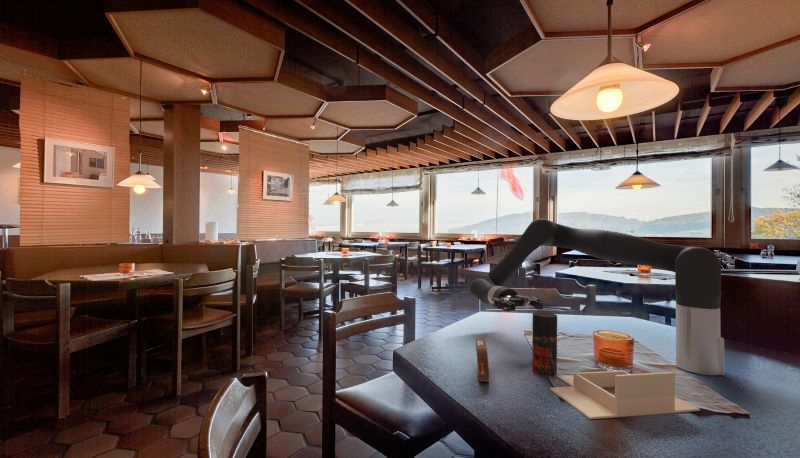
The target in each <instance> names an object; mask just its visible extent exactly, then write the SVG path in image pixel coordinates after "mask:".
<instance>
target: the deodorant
mask: <svg viewBox="0 0 800 458" xmlns="http://www.w3.org/2000/svg"><path fill="white" fill-rule="evenodd" d="M531 346H532V347H531V348H532V349H531V350H532V353H531V354H532V356H531V358H532V361H531V362H532V363H531V364H532V365H531V366H532V367H531V371H532V373H534V374H535V375H538V376H540V377H545V378H551V377H552V378H554V377H556V376H557V374H558V314H555V313H551V312H543V311H538V312H537V311H536V312H535V311H534V312H533V313H532V345H531Z"/></svg>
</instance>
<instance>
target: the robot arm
mask: <svg viewBox="0 0 800 458" xmlns="http://www.w3.org/2000/svg"><path fill="white" fill-rule="evenodd" d="M541 246H543V247H553V248H554V247H556V248H562V249H563V248H564V249H569V250H573V251H576V252H578V253H582V254H584V255H588V256H590V257H593V258H597V259H600V260H605V261H610V262H613V263H614V262H615V263H619V264H626V265H633V266H634V265H635V266H643V267H645V266H646V267H653V268H658V269H662V270H666V271H669V272H671V273H674V275H675V277H674V279H675V280H674V281H675V283H674V285H675V289H674V291H675V293H674V294H675V366H677V367H678V368H679V369H681V370H683V371H686V372H690V373H694V374H698V375H705V376H725V339H724V337H722V336H721V297H722V290H721V289H722V264H721V260H720V258H719V257H718V256H717V254H716V253H715V252H714V251H712V250H710V249H708V248H707V247H706V248H705V247H701V246H686V245H677V244H667V243H663V242H662V243H661V242H657V241H653V240H649V239H646V238H643V237H640V236H636V235H632V234H628V233H623V232H617V231H612V230H611V231H610V230H605V229H597V228H576V227H571V226H567V225H563V224H561V223H557V222H554V221H552V220H549V219H546V218H536V219H534V220H532V221H531V222H530V223H529V224H528V226H527V227H526V229H525V230H524V232H523V233H522V235H520V237H519V238H518V240H517V241H516V242H515V244H513V246H512V247H511V249H510V250H509V251H508V252H507V253H506V254H505V255H504V256H503V257H502V258H501V259H500V260H499V262H497V263H496V265H494V266H493V267H492V269H490V271H489V272H488V274H487V275H488V278H489V279H490V280H491V282H493V283H491V282H489V281H487V280H485V279H484V278H476V279H474V280H473V281H472V282H471V283H470V285H469V290H470V294H471V295H472V296H473V297H475V298H477V299H478V300H480V301H481V302H482V303H484V304H487V305H488V304H489V305H491V306H492V307H495V308H496V309H497V310H502V311H505V312H512V311H513V312H515V311H516V309H520V308H521V309H530V308H532V309H536V310H538V311H541V310H543V308H544V305H543V302H542V299H541V298H537V297H533V296H531V295H529V296H523V295H520V294H518V292H517V291H516V290H515V289H513V288H510V287H506V286H504V285H505V284H506V283H507V282H508V281H510V279H511V278H513V276H514V275H515V274H516V273H517V272H518V271H519V269H520V268H521V266H522V265H523V263H524V262H525V261H526V259H527V258H528V257H529V256H530V255H531V254H532V253H533V252H535V251H536V250H537V249H538V248H540V247H541Z"/></svg>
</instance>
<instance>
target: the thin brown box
mask: <svg viewBox="0 0 800 458" xmlns="http://www.w3.org/2000/svg"><path fill="white" fill-rule="evenodd" d="M475 348H476V349H475V350H476V364H477V378H478V379H477V380H478V382H481V383H482V382H483V383H490V370H489V369H490V368H489V355H488V353H489V352H488V346H487V340H486V337H477V338H476V339H475Z"/></svg>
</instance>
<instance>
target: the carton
mask: <svg viewBox="0 0 800 458" xmlns="http://www.w3.org/2000/svg"><path fill="white" fill-rule="evenodd" d="M557 379H559V380H560V381H562V382H564V383H565V384H566V385H568V386H557V387H549V390H550V391H551V392H553V394H555V395H557V396H558V397H559V398H561V399H562V400H563V401H564V402H565V403H567V404H569V405H570V406H571V407H573V408H574V409H575V410H577V411H578V412H579V413H580V414H582V415H583V416H585V417H586V418H587V419H589V420H598V419H610V418H612V419H613V418H624V417H626V418H627V417H637V416H651V415H663V414H676V413H687V412H688V413H690V412H700V411H701V408H699V407H697V406H695V405H692V404H690V403H689V402H687V401H685V400H683V399H680V398H679V397H676V383H675V382H676V373H675V372H674V371H667V372H665V371H663V372H649V373H647V372H646V373H630V372H627V371H625V370H623V369H622V370H606V371H605V370H603V371H588V372H587V371H586V372H573V374H572V375H571V374H570V375H558V376H557ZM604 388H614V394H612V393H610V392H609V391H607V390H605V389H604Z"/></svg>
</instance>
